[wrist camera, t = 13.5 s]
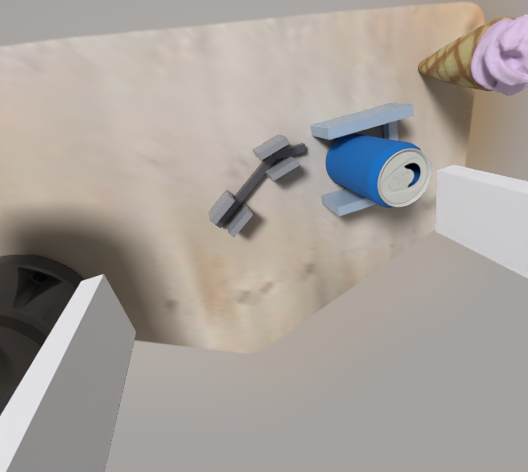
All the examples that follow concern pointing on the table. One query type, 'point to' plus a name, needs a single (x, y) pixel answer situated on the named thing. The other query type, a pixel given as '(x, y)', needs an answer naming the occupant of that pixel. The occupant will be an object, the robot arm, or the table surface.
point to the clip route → (255, 182)
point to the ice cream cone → (485, 58)
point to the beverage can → (379, 169)
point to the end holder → (352, 123)
